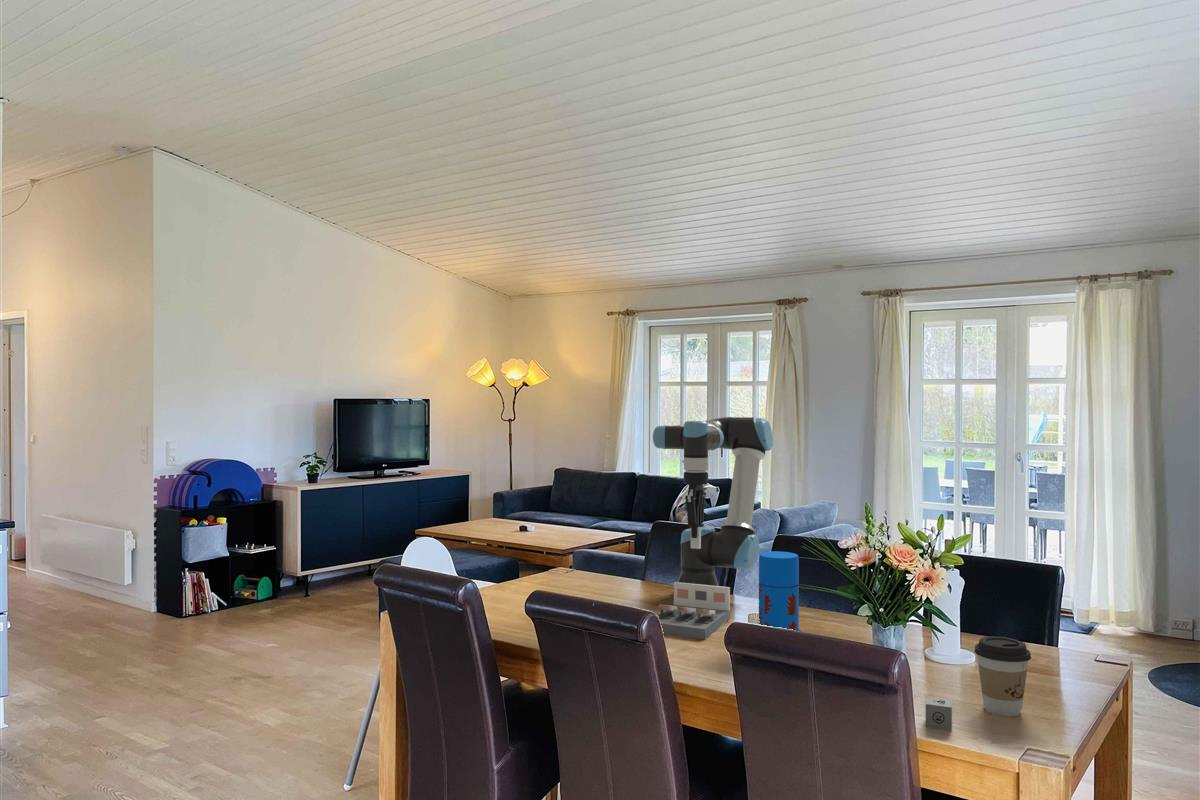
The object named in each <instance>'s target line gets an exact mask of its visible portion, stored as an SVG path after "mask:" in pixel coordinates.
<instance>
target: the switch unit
mask: <svg viewBox="0 0 1200 800" xmlns="http://www.w3.org/2000/svg"><path fill="white" fill-rule="evenodd" d="M671 606H677V609H673V610H665V609H659V613H658V614H657V615H658V616H659V619H660V622H661V625H662V628H663V632H664V634H663V635H666V636H667V635H668V636H673V635H674V636H675V637H680V636H681V637H682V638H688V637H689V639H696V638H697V639H698V640H703V639H704V641H705V640H707V639H708V638H709V637H710V636H712V635H713V634H714V633H715V632H716V630H717V629H718V628H719V627H720V626H721V625H722V624H723V623H724V622H726V621H727V620H729V619H730V620H731V617H730V616H731V609H730V608H731V587H729V586H722V585H721V586H720V585H719V586H711V585H701V584H691V583H681V582H678V581H674V582H673V605H671ZM678 607H688V608H696V611H693V612H683V611H678ZM697 609H705V610H714V611H715V613H712V615H711V614H700V613H697ZM730 620H729V621H730ZM726 623H727V622H726ZM721 627H722V626H721ZM721 627H720V628H721ZM720 628H719V629H720ZM719 629H718V630H719ZM718 630H717V631H718ZM713 632H714V633H713ZM712 633H713V634H712ZM711 634H712V635H711ZM706 638H707V639H706ZM697 639H696V640H697Z"/></svg>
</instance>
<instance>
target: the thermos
mask: <svg viewBox="0 0 1200 800" xmlns="http://www.w3.org/2000/svg"><path fill="white" fill-rule="evenodd" d="M758 556H759V557H758V625H759V624H761V625H767V626H773V627H782V628H787V629H793V630H796V631H800V630H799V629H800V627H799V625H800V624H799V623H800V622H799V621H800V620H799V619H800V618H799V613H800V610H799V609H800V608H799V607H800V605H799V604H800V603H799V602H800V601H799V598H800V597H799V594H800V593H799V591H800V590H799V589H800V587H799V586H800V585H799V583H800V581H799V579H800V574H799V573H800V572H799V571H800V570H799V569H800V568H799V567H800V566H799V565H800V562H799V555H798V554H797V553H795V552H789V551H778V550H777V551H775V550H774V551H771V550H770V551H764V552H759V554H758ZM759 619H760V620H759ZM759 621H760V623H759Z"/></svg>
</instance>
